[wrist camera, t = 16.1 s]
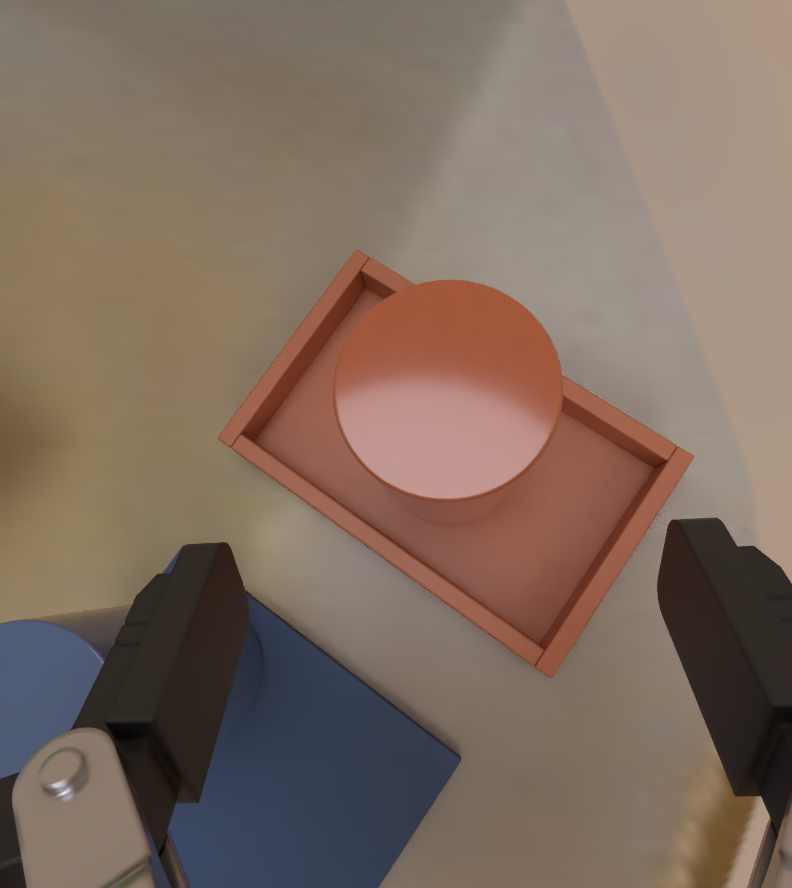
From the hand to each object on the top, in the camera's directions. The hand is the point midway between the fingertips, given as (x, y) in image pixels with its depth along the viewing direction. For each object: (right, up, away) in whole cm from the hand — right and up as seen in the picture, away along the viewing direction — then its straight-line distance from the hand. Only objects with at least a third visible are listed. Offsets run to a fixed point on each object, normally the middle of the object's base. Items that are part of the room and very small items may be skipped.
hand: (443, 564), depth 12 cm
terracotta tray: (+1, +2, +11) cm, 11 cm away
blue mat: (-7, -10, +9) cm, 15 cm away
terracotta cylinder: (+1, +2, +10) cm, 10 cm away
